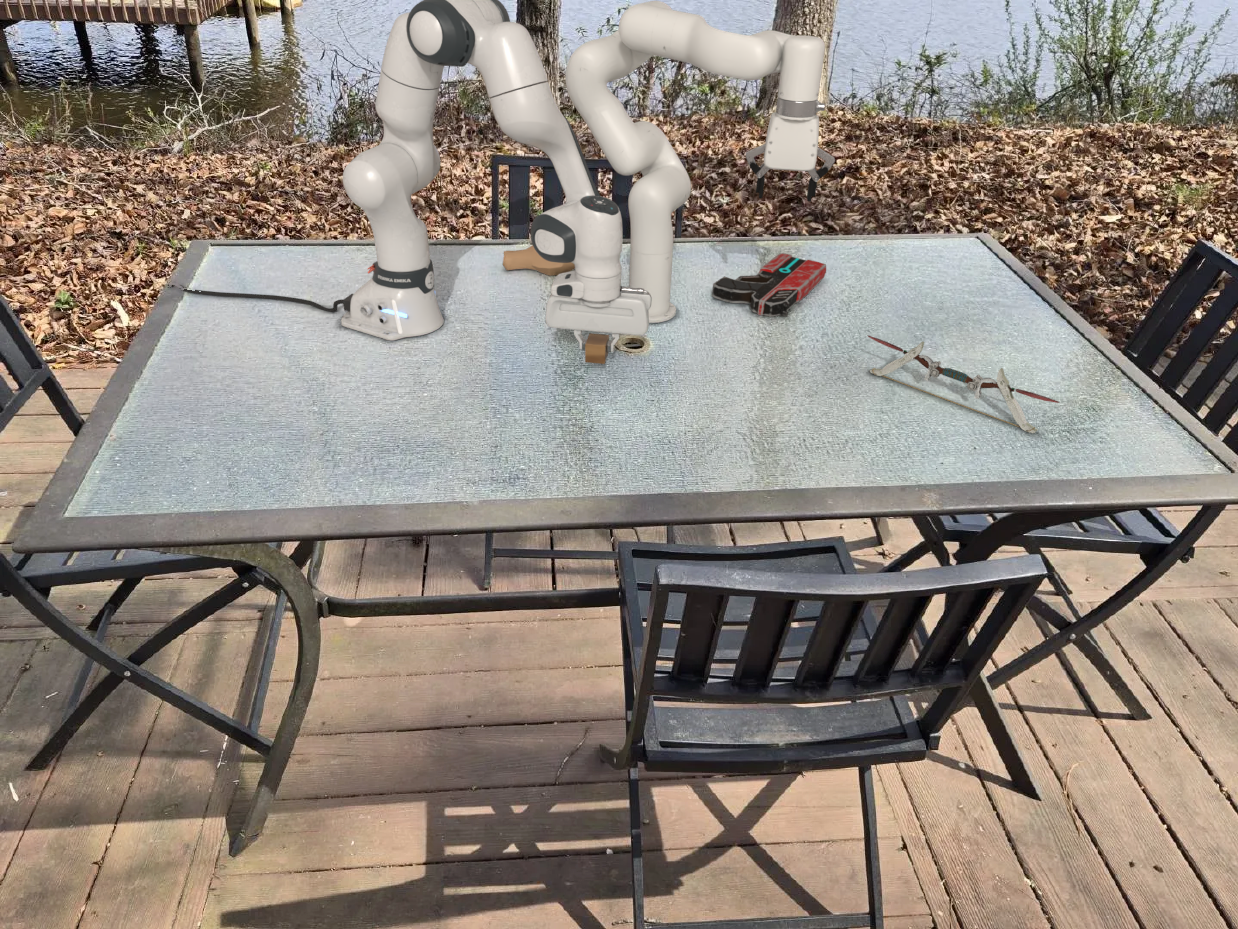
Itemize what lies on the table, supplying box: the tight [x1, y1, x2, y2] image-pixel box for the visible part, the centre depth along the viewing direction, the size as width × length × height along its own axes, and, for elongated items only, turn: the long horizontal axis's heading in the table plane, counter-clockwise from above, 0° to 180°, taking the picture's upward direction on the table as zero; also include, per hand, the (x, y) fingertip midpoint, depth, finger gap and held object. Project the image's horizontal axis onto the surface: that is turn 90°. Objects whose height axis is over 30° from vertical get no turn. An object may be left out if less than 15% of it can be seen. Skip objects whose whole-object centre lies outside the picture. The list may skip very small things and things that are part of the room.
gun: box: [711, 252, 827, 318], centre depth 215 cm, size 4×31×19 cm
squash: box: [502, 244, 575, 276], centre depth 221 cm, size 11×20×9 cm, turn 90°
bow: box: [867, 334, 1060, 434], centre depth 169 cm, size 39×2×10 cm, turn 47°
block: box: [584, 332, 610, 365], centre depth 175 cm, size 5×4×4 cm
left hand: (596, 349), depth 175 cm, fingers closed on block, 4 cm apart
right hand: (784, 197), depth 176 cm, fingers open, 9 cm apart
